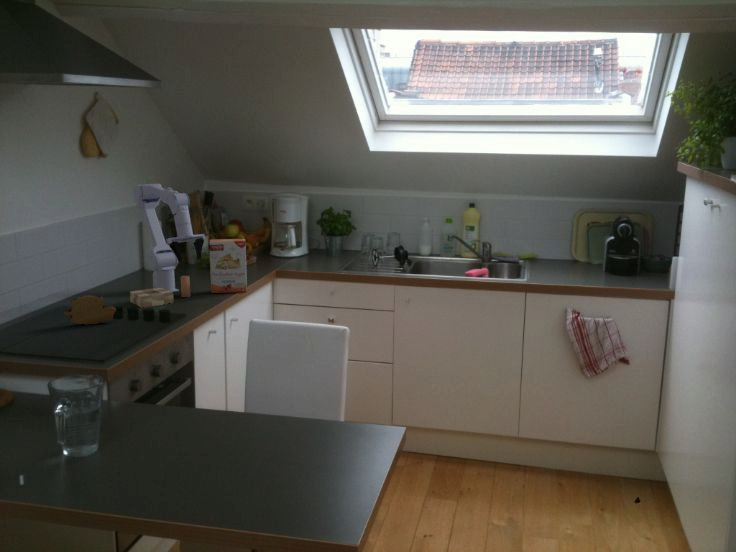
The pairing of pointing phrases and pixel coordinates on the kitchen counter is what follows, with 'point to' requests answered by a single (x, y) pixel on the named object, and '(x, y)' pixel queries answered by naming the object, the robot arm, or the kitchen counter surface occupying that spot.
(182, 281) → the peg
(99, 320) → the wooden carving
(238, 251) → the cracker box
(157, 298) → the socket block
